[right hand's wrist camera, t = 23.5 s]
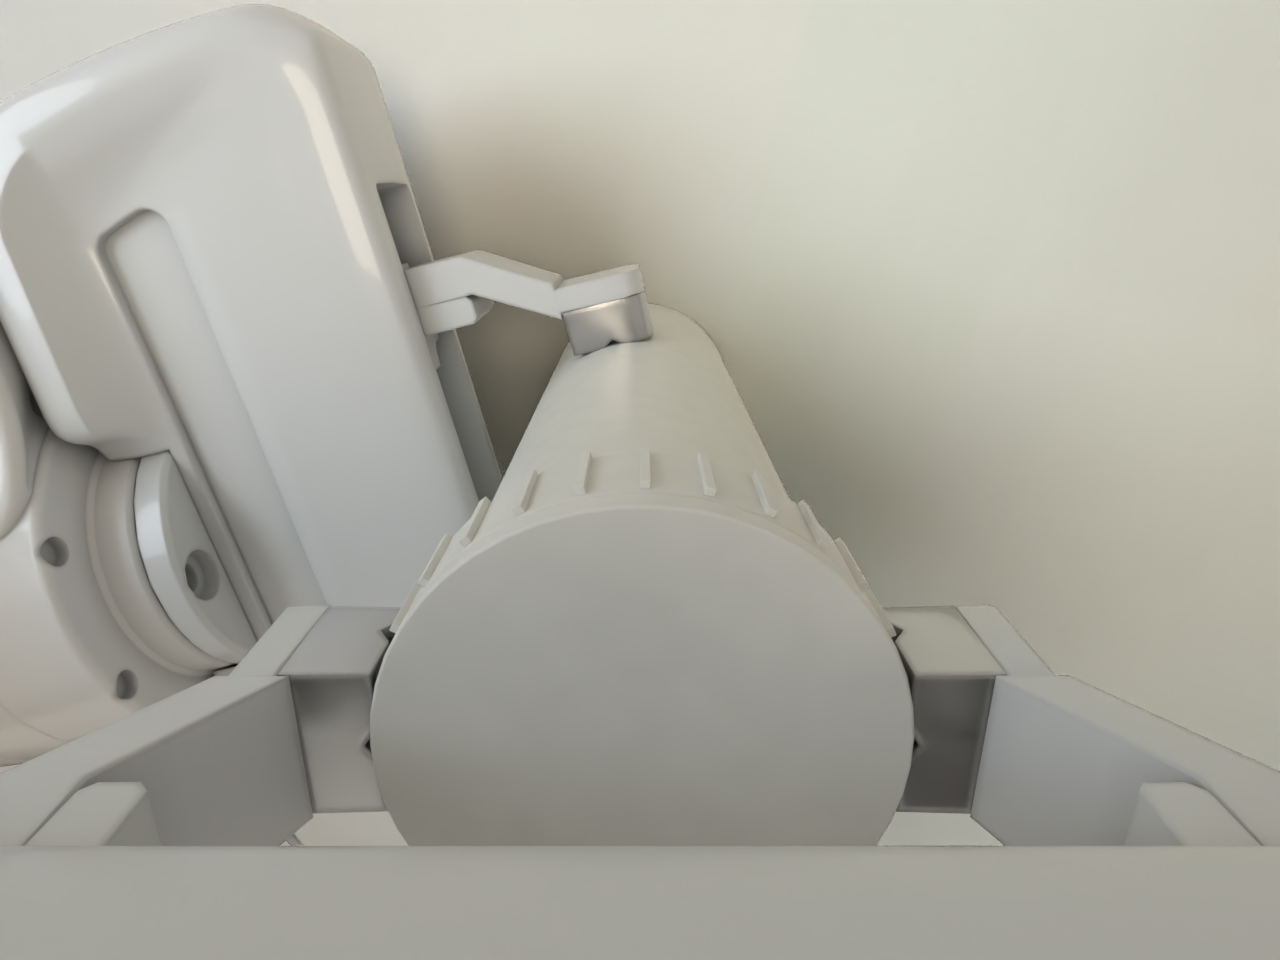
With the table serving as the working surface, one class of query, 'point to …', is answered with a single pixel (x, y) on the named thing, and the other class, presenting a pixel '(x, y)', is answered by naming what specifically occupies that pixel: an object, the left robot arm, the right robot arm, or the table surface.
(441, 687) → the lid
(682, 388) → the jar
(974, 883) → the right robot arm
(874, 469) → the table surface
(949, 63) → the table surface
